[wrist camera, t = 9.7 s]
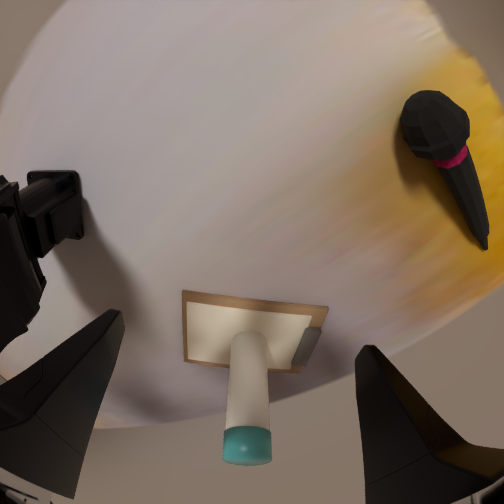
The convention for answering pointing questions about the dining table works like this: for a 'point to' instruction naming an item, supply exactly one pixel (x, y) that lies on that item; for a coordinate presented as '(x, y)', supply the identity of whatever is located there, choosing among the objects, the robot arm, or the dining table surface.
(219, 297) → the clipboard
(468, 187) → the microphone
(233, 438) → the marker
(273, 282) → the dining table surface
